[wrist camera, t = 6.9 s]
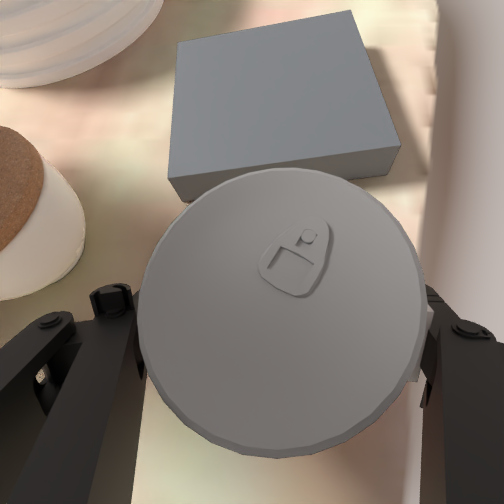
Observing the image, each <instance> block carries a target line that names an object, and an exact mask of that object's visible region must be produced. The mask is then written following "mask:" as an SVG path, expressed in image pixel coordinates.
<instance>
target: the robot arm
mask: <svg viewBox="0 0 504 504" xmlns="http://www.w3.org/2000/svg"><path fill="white" fill-rule="evenodd" d="M425 287H426V294H427V302H428V305H427V318H426V332H425V337H424V340H423V344H422V347H421V350H420V354H419V357H418V360H417V364H416V366H415V368H414V370H413V372H412V373H411V375H410V377H409V379H408V381H412V382H417V381H418V378H419V373H420V369H422V371H423V373H424V374H425V376H426V378H427V380H426V384H425V388H424V392H423V396H422V400H421V404H420V407H421V408H423V430H422V455H421V456H422V457H421V481H420V504H504V343H500V342H497V341H496V338H495V337H494V335H493V334H492V333H491V332H490V331H489V330H487V329H486V328H485V327H483V326H480V325H478V324H476V323H474V322H470V321H467V320H462V319H460V318H459V317H458V315H457V314H456V313H455V312H454V311H453V310H452V309H451V308H450V307H449V306H448V305H447V304H446V303H444V300H443V299H442V298H441V297H439V295H438V294H437V293H436V292H435V291H434V289H433V288H431V287H429V286H427V285H426V284H425ZM139 292H140V290H139V291H137V292H136V293H135V294H134V295H133V296H132V293H131V289H130V286H129V285H127V284H122V283H119V284H111V285H106V286H103V287H101V288H98V289H97V290H95V291H93V292H92V293H91V294H90V295H89V297H90V300H91V304H92V307H93V310H94V314H95V317H94V319H93V320H89V321H82V322H75V321H74V318H73V315H72V314H71V313H70V312H65V311H61V312H52V313H51V314H50V313H49V314H46V315H44V316H42V317H40V318H38V319H36V320H35V321H33V322H32V323H31V324H29V325H28V326H27V327H26V328H25V329H23V330H22V331H21V332H20V333H19V334H17V335H16V336H15V337H14V338H13V339H11V340H10V341H9V342H8V343H7V344H5V345H4V346H3V347H2V348H0V504H6V503H7V504H131V499H132V491H133V483H134V475H135V467H136V459H137V451H138V443H139V435H140V427H141V419H142V410H143V402H144V394H145V386H146V378H147V369H146V365H145V362H144V359H143V356H142V353H141V349H140V344H139V334H138V325H137V313H138V302H139ZM41 368H42V369H43V372H44V374H45V378H44V379H43V380H42V381H41V382H40V383H38V382H37V379H36V377H35V376H36V375H37V373H38V372H39V371H40V369H41Z"/></svg>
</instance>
